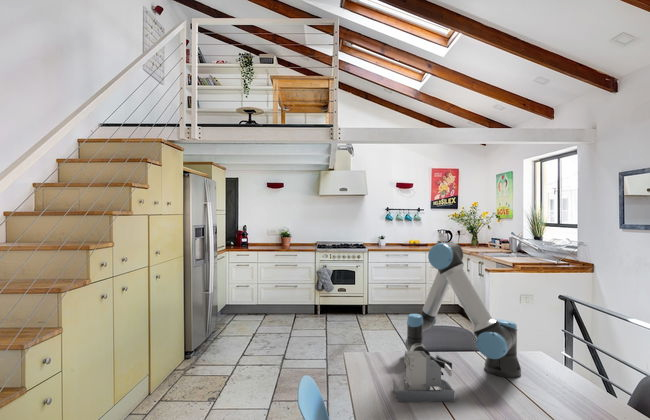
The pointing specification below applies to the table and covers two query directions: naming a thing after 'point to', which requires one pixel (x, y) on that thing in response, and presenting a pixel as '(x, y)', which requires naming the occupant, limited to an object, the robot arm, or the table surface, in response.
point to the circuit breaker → (421, 371)
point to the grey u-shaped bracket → (424, 394)
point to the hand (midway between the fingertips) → (434, 373)
